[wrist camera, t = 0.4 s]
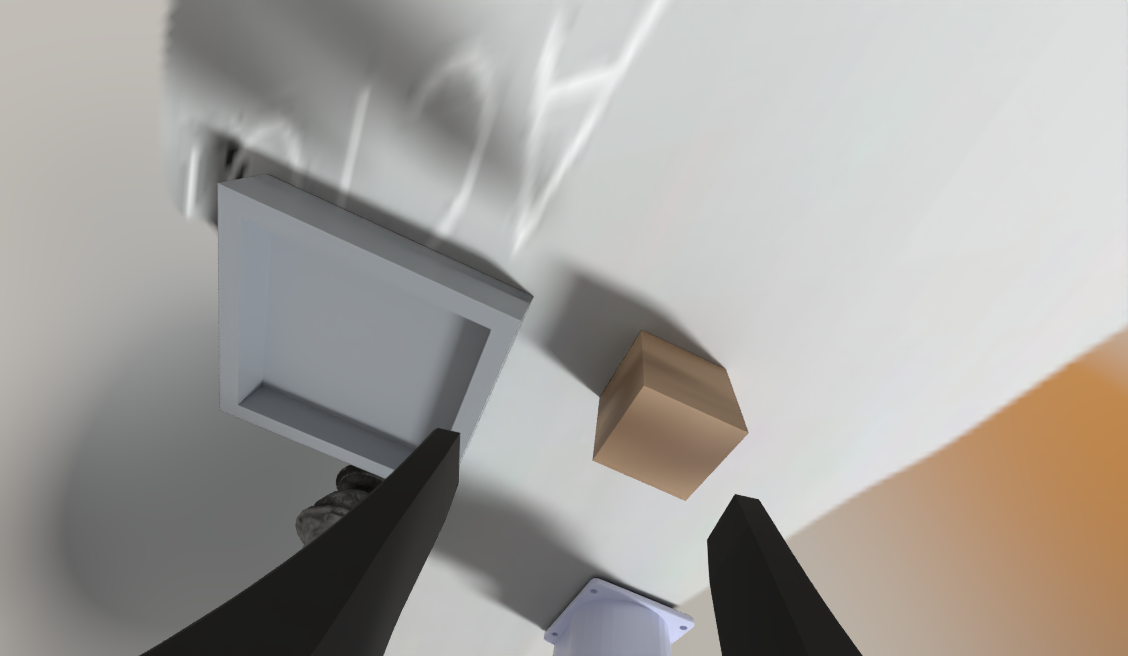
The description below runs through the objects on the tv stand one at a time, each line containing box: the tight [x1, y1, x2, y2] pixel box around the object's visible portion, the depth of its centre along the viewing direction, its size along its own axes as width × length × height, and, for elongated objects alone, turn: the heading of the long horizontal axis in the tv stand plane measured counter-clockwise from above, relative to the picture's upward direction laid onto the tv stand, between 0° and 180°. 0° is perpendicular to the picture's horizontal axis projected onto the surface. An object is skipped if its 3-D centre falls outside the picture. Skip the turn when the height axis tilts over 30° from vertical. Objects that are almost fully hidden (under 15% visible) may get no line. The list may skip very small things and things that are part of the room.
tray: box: [218, 174, 533, 479], centre depth 21 cm, size 13×13×2 cm
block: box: [593, 330, 748, 501], centre depth 19 cm, size 4×4×4 cm
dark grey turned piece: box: [296, 465, 385, 549], centre depth 23 cm, size 6×6×12 cm
